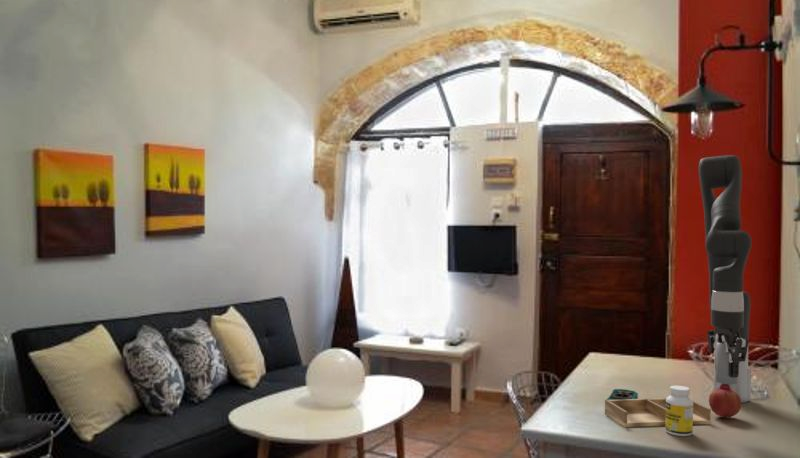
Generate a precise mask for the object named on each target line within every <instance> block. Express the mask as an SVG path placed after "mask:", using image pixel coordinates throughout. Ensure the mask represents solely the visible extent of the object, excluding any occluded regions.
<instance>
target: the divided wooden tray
mask: <svg viewBox="0 0 800 458" xmlns="http://www.w3.org/2000/svg"><path fill="white" fill-rule="evenodd" d="M666 398H667V397H665V398H664V397H663V398H660V397H659V398H638V399H624V400H606V399H605V400H604V415H605V416H607V417H608V418H610V419H611V420H613V421H614V422H615V423H617V424H619V425H621V426H622V427H623V428H633V427H662V426H665V420H666ZM692 401H693V425H711V419H712V418H711V415H712V414H711V412H712V409H711V408H709V407H708V406H705V405H703V404H702V403H701V404H700V403H699V402H697V401H695V400H692Z"/></svg>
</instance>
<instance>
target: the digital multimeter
mask: <svg viewBox="0 0 800 458" xmlns="http://www.w3.org/2000/svg"><path fill="white" fill-rule="evenodd" d="M638 395H639V394H638V392H637V391H635V390H631V389H623V388H614V389H613V390H612V392H611V394H610V395H609V396H608V398H606V399H605V400H624V399H639V398H638V397H639V396H638Z"/></svg>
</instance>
